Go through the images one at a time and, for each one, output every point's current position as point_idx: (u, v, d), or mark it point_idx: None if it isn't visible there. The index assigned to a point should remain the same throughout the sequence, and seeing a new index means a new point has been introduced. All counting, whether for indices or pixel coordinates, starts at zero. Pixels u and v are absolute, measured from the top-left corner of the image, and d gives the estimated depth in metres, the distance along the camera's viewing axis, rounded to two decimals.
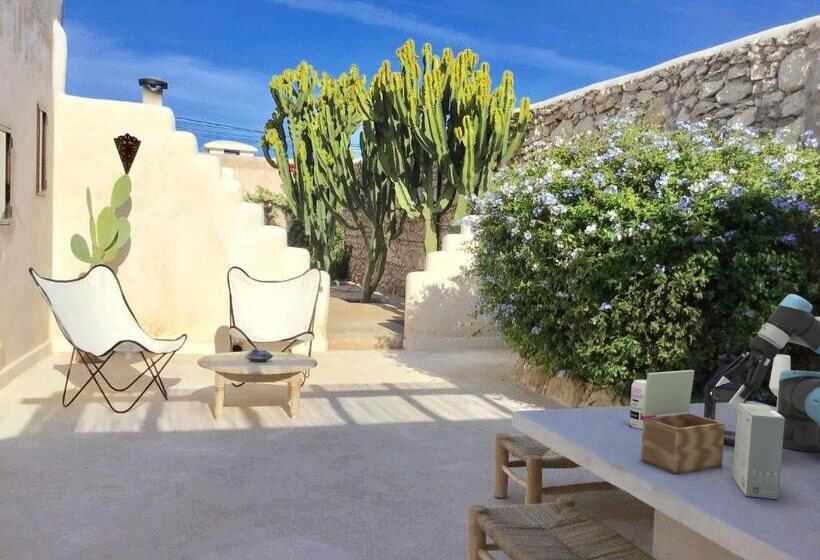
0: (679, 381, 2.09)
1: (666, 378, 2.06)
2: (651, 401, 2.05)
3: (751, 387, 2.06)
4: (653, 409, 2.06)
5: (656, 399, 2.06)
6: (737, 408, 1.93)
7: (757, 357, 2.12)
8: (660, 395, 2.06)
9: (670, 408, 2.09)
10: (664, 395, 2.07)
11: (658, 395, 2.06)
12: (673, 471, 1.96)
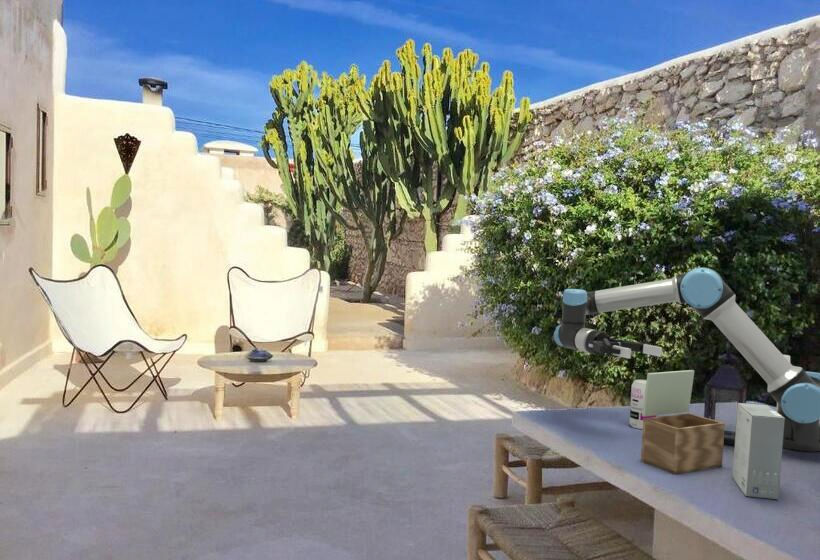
0: (679, 381, 2.09)
1: (666, 378, 2.06)
2: (651, 401, 2.05)
3: (606, 350, 2.18)
4: (653, 409, 2.06)
5: (656, 399, 2.06)
6: (737, 408, 1.93)
7: None
8: (660, 395, 2.06)
9: (670, 408, 2.09)
10: (664, 395, 2.07)
11: (658, 395, 2.06)
12: (673, 471, 1.96)
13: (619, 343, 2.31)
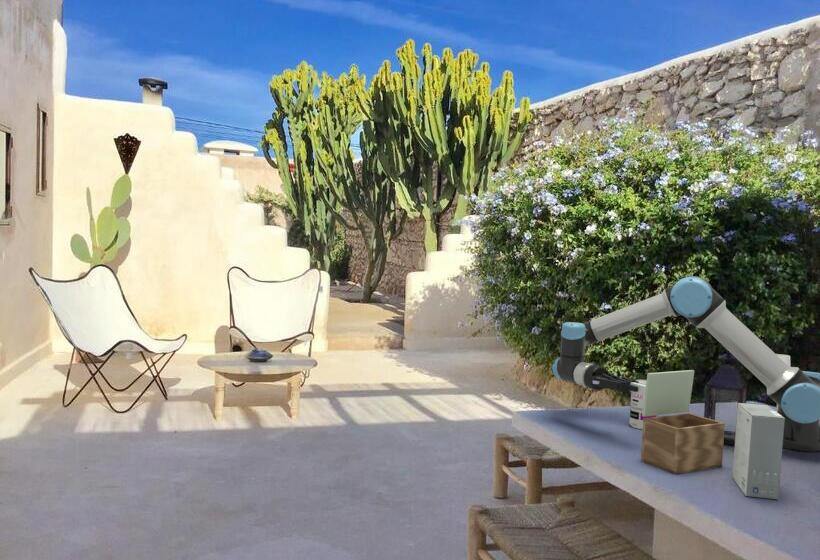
0: (679, 381, 2.09)
1: (666, 378, 2.06)
2: (651, 401, 2.05)
3: (623, 387, 2.19)
4: (653, 409, 2.06)
5: (656, 399, 2.06)
6: (737, 408, 1.93)
7: None
8: (660, 395, 2.06)
9: (670, 408, 2.09)
10: (664, 395, 2.07)
11: (658, 395, 2.06)
12: (673, 471, 1.96)
13: None
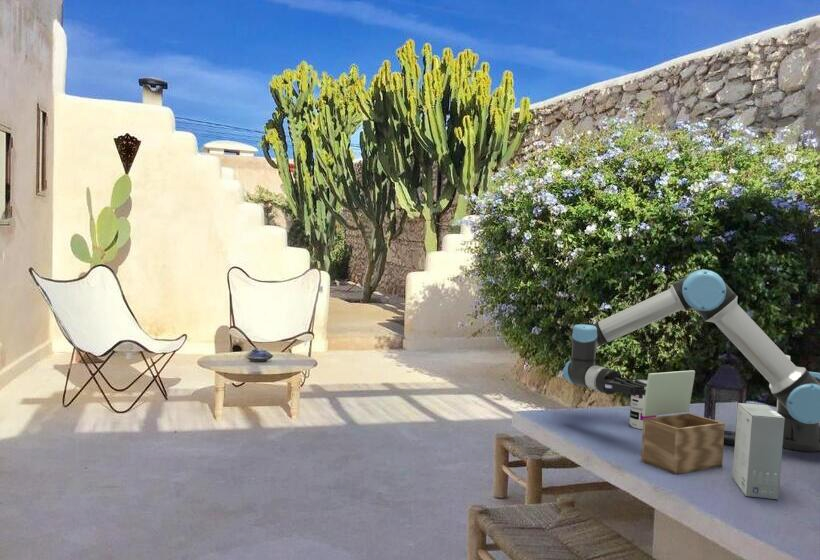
0: (680, 381, 2.09)
1: (667, 378, 2.06)
2: (651, 401, 2.05)
3: (637, 392, 2.13)
4: (653, 409, 2.06)
5: (656, 399, 2.06)
6: (737, 408, 1.93)
7: None
8: (660, 395, 2.06)
9: (670, 408, 2.09)
10: (664, 395, 2.07)
11: (658, 395, 2.06)
12: (673, 471, 1.96)
13: None
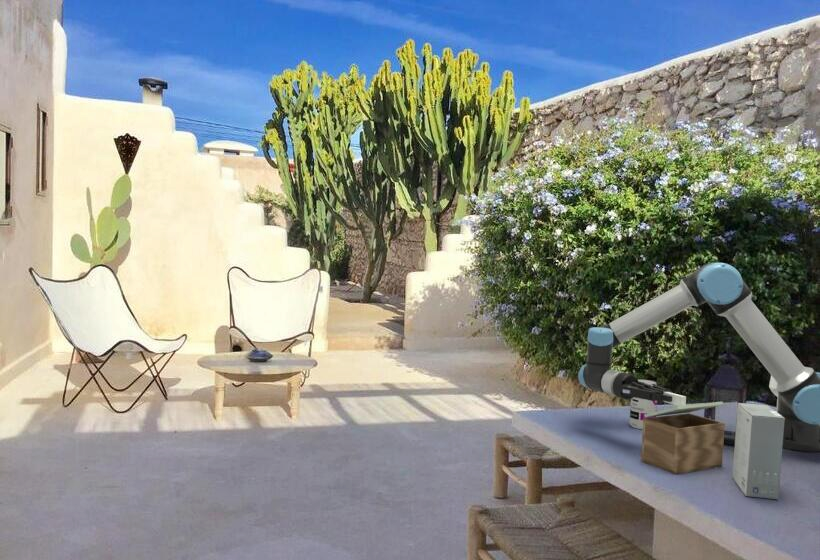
0: (701, 407, 2.03)
1: (691, 408, 1.99)
2: (661, 414, 2.02)
3: (656, 397, 2.07)
4: (658, 415, 2.05)
5: (667, 413, 2.03)
6: (737, 408, 1.93)
7: None
8: (673, 412, 2.02)
9: (674, 413, 2.08)
10: (677, 411, 2.03)
11: (671, 412, 2.02)
12: (673, 471, 1.96)
13: None
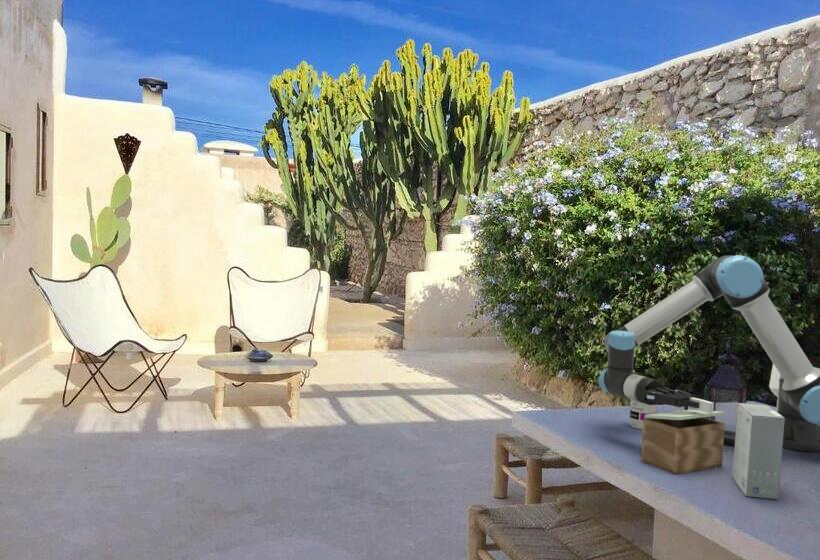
0: None
1: None
2: None
3: (682, 403, 2.01)
4: None
5: None
6: (737, 408, 1.93)
7: None
8: None
9: None
10: None
11: None
12: (673, 471, 1.96)
13: None
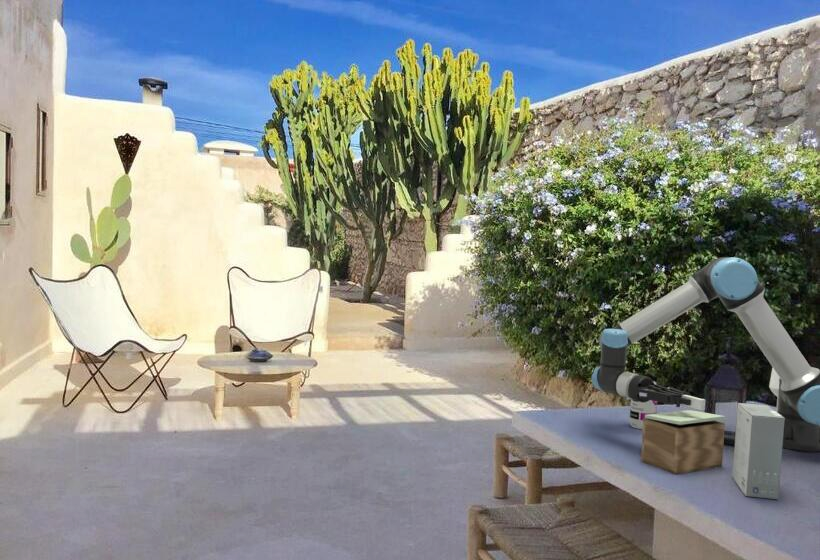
0: None
1: None
2: None
3: (674, 400, 2.02)
4: None
5: None
6: (737, 408, 1.93)
7: None
8: None
9: None
10: None
11: None
12: (673, 471, 1.96)
13: None
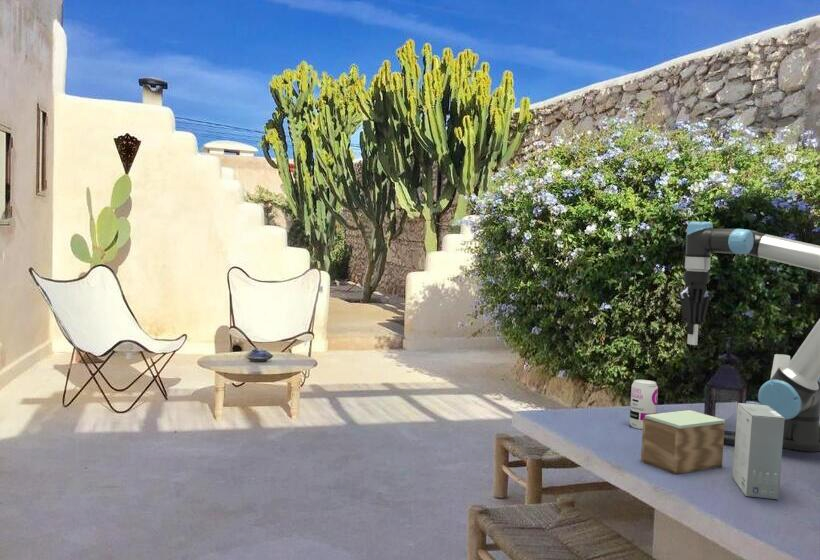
0: None
1: None
2: None
3: (687, 322, 2.37)
4: None
5: None
6: (737, 408, 1.93)
7: None
8: None
9: None
10: None
11: None
12: (673, 471, 1.96)
13: (704, 293, 2.39)
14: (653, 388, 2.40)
